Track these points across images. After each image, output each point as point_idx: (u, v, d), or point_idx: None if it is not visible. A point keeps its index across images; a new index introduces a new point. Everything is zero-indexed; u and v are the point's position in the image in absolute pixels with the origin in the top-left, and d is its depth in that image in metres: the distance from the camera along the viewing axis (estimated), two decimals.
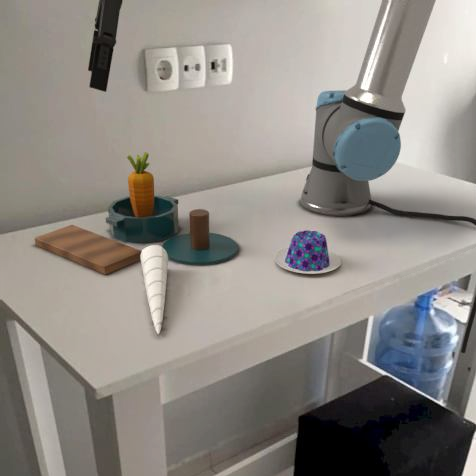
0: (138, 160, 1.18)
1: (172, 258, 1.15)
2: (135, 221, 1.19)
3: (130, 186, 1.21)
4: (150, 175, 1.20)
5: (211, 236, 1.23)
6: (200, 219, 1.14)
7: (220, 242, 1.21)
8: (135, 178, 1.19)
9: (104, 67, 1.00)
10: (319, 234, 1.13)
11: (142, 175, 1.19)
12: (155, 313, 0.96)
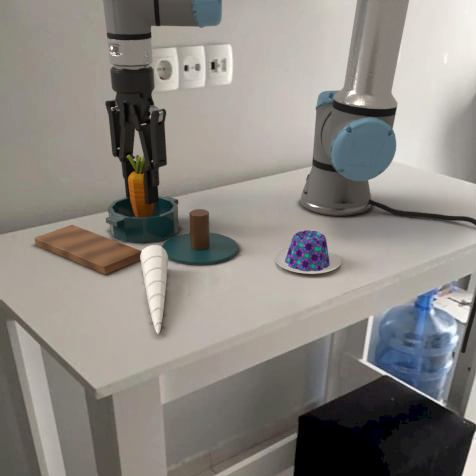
0: (138, 160, 1.18)
1: (172, 258, 1.15)
2: (135, 221, 1.19)
3: (130, 186, 1.21)
4: None
5: (211, 236, 1.23)
6: (200, 219, 1.14)
7: (220, 242, 1.21)
8: (135, 178, 1.19)
9: (158, 184, 1.19)
10: (319, 234, 1.13)
11: (142, 175, 1.19)
12: (155, 313, 0.96)
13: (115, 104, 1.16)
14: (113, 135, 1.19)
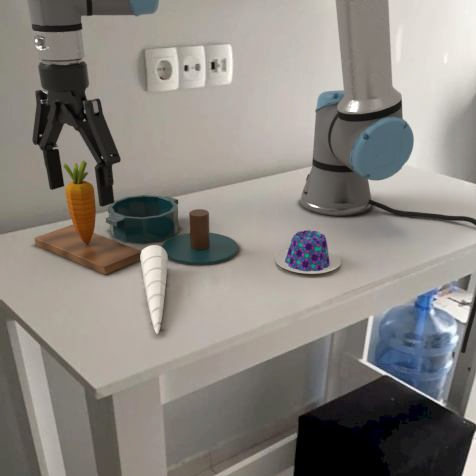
0: (75, 169, 1.08)
1: (172, 258, 1.15)
2: (135, 221, 1.19)
3: (68, 197, 1.11)
4: (89, 185, 1.10)
5: (211, 236, 1.23)
6: (200, 219, 1.14)
7: (220, 242, 1.21)
8: (72, 189, 1.09)
9: (111, 183, 1.06)
10: (319, 234, 1.13)
11: (80, 185, 1.09)
12: (154, 313, 0.96)
13: (46, 98, 1.05)
14: (37, 125, 1.08)
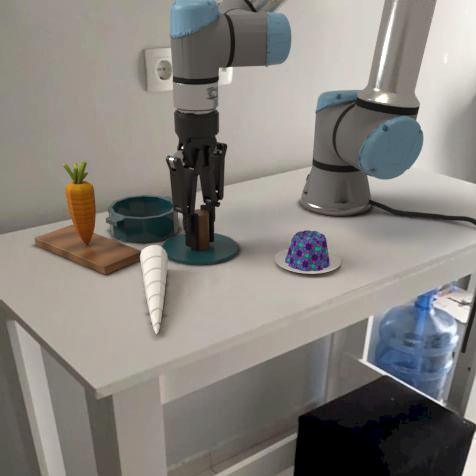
0: (75, 169, 1.08)
1: (172, 258, 1.15)
2: (135, 221, 1.19)
3: (68, 197, 1.11)
4: (89, 185, 1.10)
5: None
6: (200, 219, 1.14)
7: (220, 242, 1.21)
8: (72, 189, 1.09)
9: None
10: (319, 234, 1.13)
11: (80, 185, 1.09)
12: (154, 313, 0.96)
13: (181, 158, 1.06)
14: (184, 191, 1.08)
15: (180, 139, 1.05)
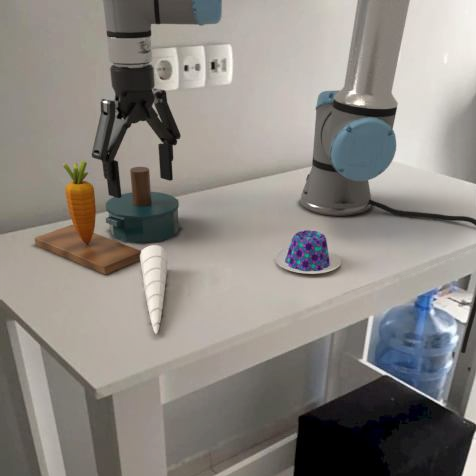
0: (75, 169, 1.08)
1: (113, 213, 1.20)
2: (135, 221, 1.19)
3: (68, 197, 1.11)
4: (89, 185, 1.10)
5: (155, 195, 1.28)
6: (139, 175, 1.19)
7: (162, 200, 1.25)
8: (72, 189, 1.09)
9: None
10: (319, 234, 1.13)
11: (80, 185, 1.09)
12: (153, 313, 0.96)
13: (115, 106, 1.10)
14: (108, 137, 1.10)
15: (116, 93, 1.10)
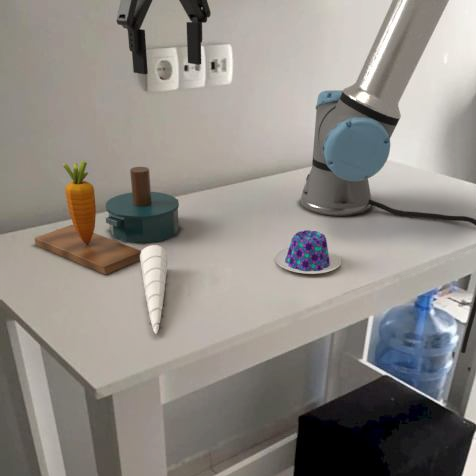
0: (75, 169, 1.08)
1: (113, 213, 1.20)
2: (135, 221, 1.19)
3: (68, 197, 1.11)
4: (89, 185, 1.10)
5: (155, 195, 1.28)
6: (139, 175, 1.19)
7: (162, 200, 1.25)
8: (72, 189, 1.09)
9: None
10: (319, 234, 1.13)
11: (80, 185, 1.09)
12: (153, 313, 0.96)
13: None
14: None
15: None
